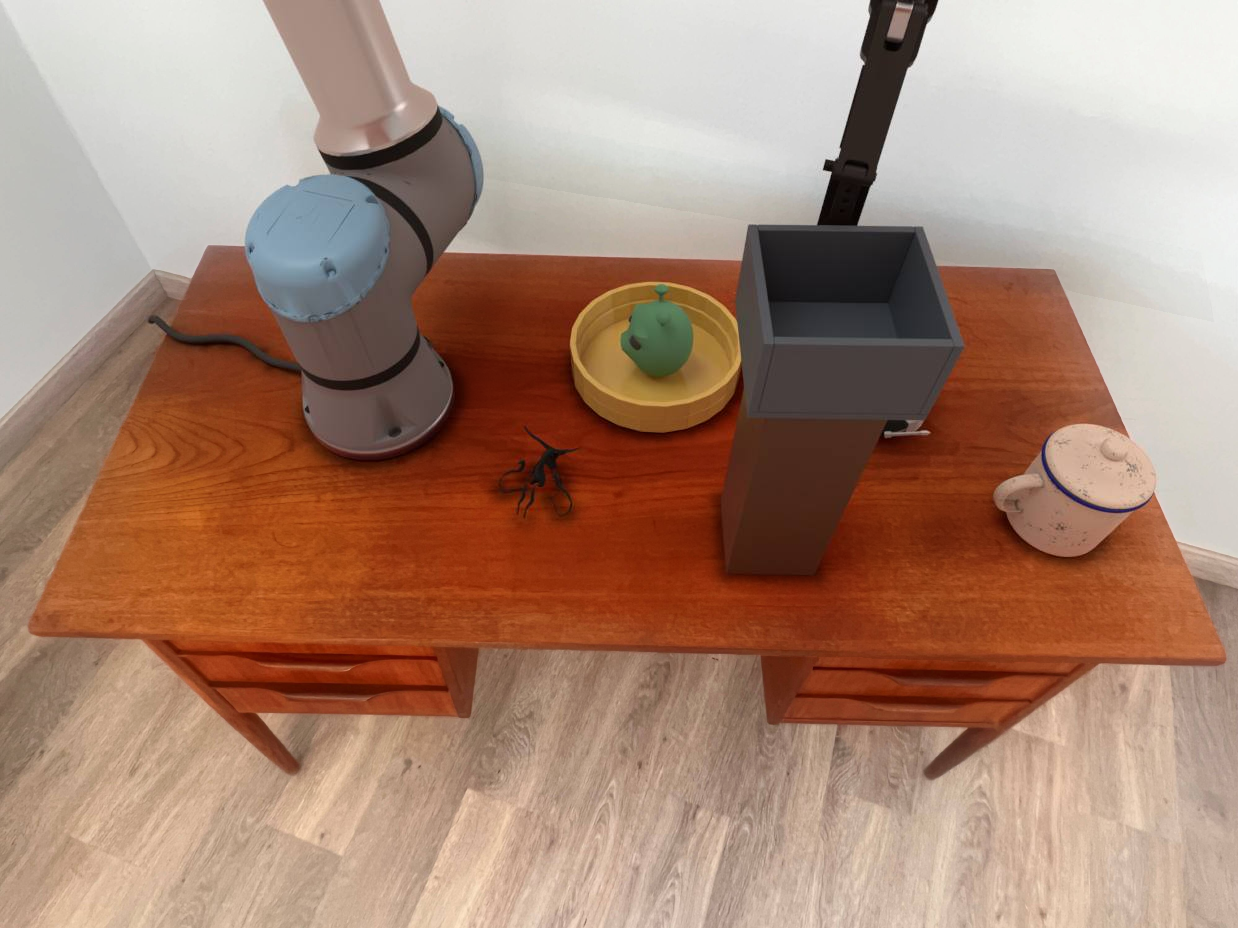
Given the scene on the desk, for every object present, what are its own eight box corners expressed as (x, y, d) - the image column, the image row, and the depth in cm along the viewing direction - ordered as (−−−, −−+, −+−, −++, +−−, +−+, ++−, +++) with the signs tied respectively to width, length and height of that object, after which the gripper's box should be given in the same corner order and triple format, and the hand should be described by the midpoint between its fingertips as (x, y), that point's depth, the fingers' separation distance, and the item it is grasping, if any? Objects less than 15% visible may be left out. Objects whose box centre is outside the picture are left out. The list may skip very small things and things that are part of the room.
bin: (708, 587, 66) (764, 343, 41) (703, 487, 72) (748, 223, 47) (834, 589, 66) (965, 346, 41) (817, 489, 72) (923, 226, 47)
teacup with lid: (1076, 476, 73) (1144, 400, 64) (1119, 557, 68) (1200, 487, 58) (958, 483, 73) (1009, 407, 63) (991, 565, 67) (1052, 496, 58)
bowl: (547, 408, 78) (544, 380, 74) (604, 297, 88) (603, 267, 84) (714, 453, 75) (719, 425, 71) (753, 332, 85) (760, 302, 81)
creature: (560, 537, 70) (595, 466, 73) (550, 518, 65) (588, 443, 68) (489, 508, 72) (526, 440, 75) (474, 487, 67) (514, 415, 70)
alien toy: (619, 344, 83) (619, 274, 75) (687, 343, 83) (695, 273, 75) (620, 391, 79) (621, 323, 71) (692, 390, 79) (701, 322, 71)
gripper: (1011, -42, 33) (871, 311, 50) (1021, -197, 47) (908, 122, 64) (844, -67, 34) (763, 285, 52) (901, -210, 48) (822, 106, 65)
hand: (843, 196), depth 58 cm, fingers open, 13 cm apart
